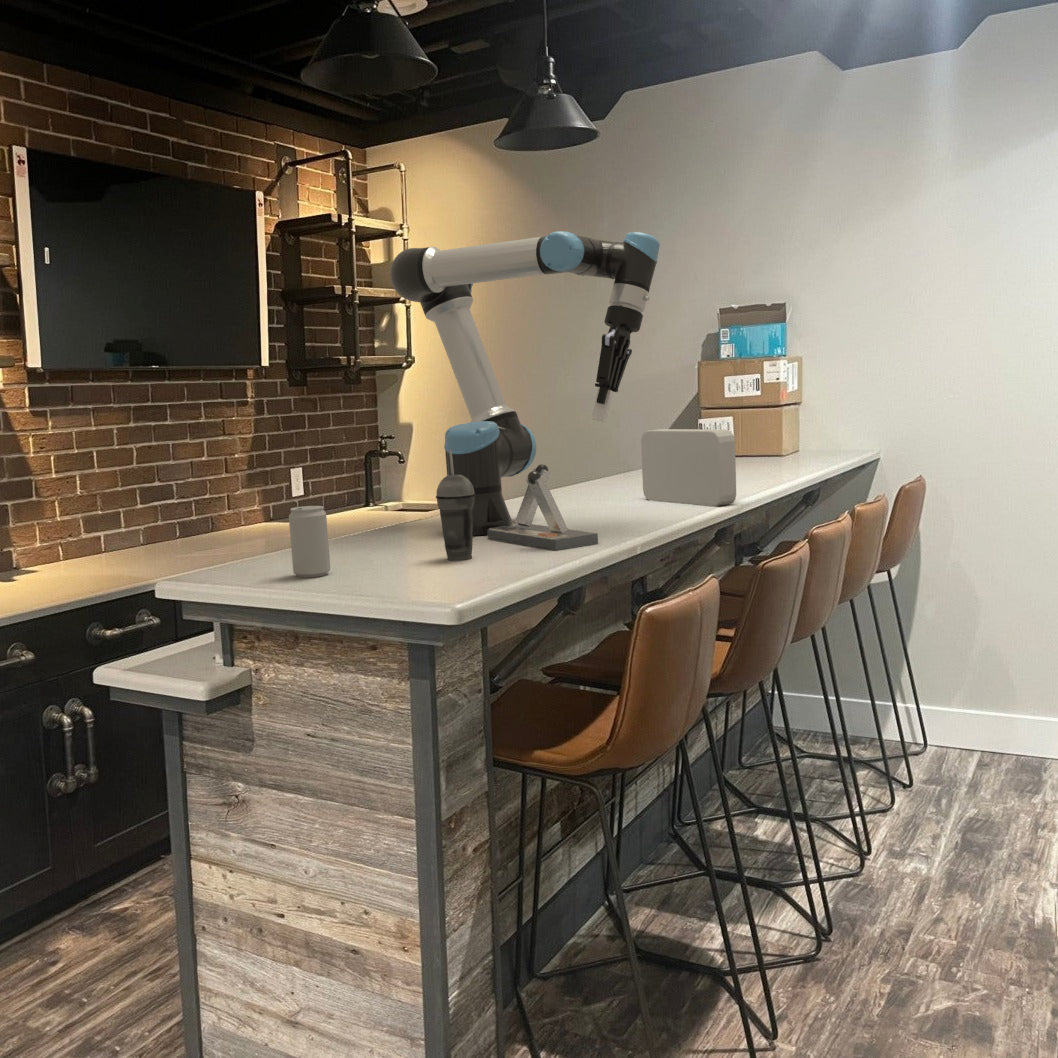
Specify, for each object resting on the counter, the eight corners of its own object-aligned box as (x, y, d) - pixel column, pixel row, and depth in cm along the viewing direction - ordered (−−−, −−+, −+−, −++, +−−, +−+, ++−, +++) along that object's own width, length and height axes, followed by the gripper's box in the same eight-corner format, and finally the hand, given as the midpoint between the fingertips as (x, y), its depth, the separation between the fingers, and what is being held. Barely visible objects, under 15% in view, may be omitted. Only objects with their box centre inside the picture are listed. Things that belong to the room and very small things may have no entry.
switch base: (527, 532, 218) (527, 520, 218) (598, 543, 199) (597, 530, 198) (487, 538, 213) (486, 526, 212) (555, 550, 193) (554, 536, 193)
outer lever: (558, 526, 201) (531, 467, 197) (569, 528, 198) (542, 468, 194) (549, 533, 200) (521, 475, 195) (560, 535, 197) (532, 475, 193)
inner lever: (522, 526, 214) (543, 467, 215) (532, 527, 211) (554, 467, 212) (512, 521, 212) (534, 462, 214) (522, 523, 209) (544, 462, 211)
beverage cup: (449, 563, 185) (441, 452, 182) (433, 558, 192) (426, 450, 189) (485, 558, 188) (479, 448, 186) (469, 553, 195) (462, 447, 192)
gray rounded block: (744, 504, 248) (742, 428, 246) (720, 507, 244) (718, 431, 242) (665, 497, 272) (663, 428, 270) (643, 500, 268) (640, 430, 265)
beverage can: (296, 573, 184) (290, 506, 182) (332, 570, 184) (327, 503, 183) (291, 579, 177) (285, 510, 176) (329, 577, 178) (323, 508, 176)
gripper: (633, 303, 206) (604, 418, 207) (651, 320, 218) (624, 428, 219) (599, 297, 209) (570, 411, 210) (619, 315, 221) (592, 422, 222)
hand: (598, 420), depth 214 cm, fingers closed
